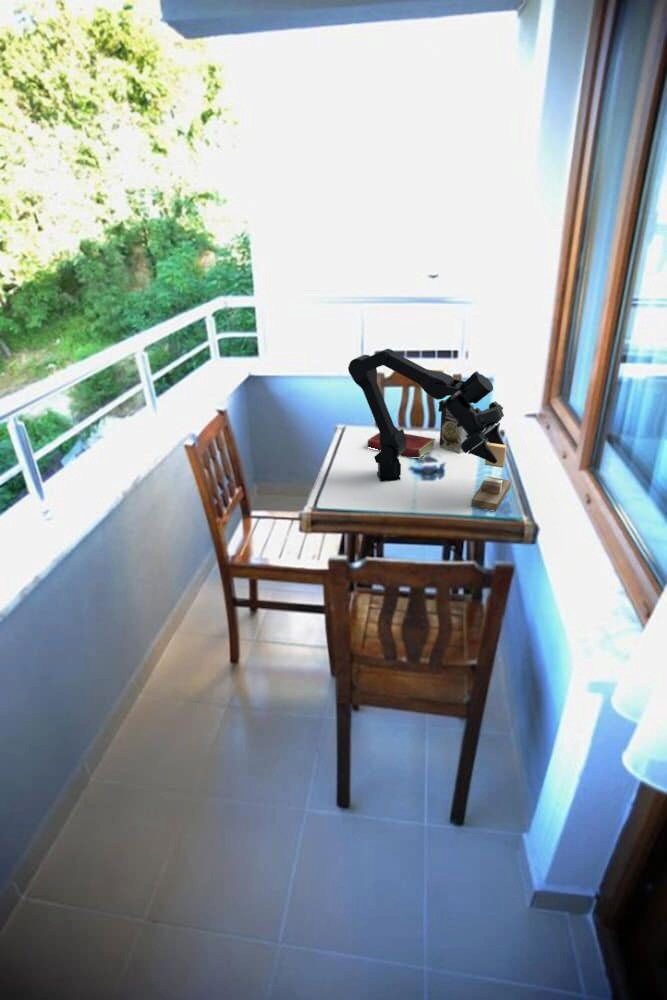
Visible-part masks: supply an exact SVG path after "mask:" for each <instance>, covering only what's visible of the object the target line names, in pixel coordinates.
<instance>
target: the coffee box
mask: <svg viewBox="0 0 667 1000" xmlns="http://www.w3.org/2000/svg"><path fill="white" fill-rule="evenodd" d="M471 405H472V407H473V408H474V405H473V404H471ZM440 413H441V414H440V415H441V416H440V430H439V444H438V445H439V449H444V450H446V451H450V452H454V453H457V454H462V453H464V452H463V450H462V449H461V443H462V442H463V441H464V440H465V439H467V437H466V435H467V433H466V432H465V430H464V429H463V428H462V427H461V426H460V427H459V428H458V426H457V424H458V422H457V421H456V420H455V418H454V417H453V416H452V415H451V414H450V412H449V411H448V410H447V409H446V408H444V409H443V410H442V411H441V412H440Z"/></svg>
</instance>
